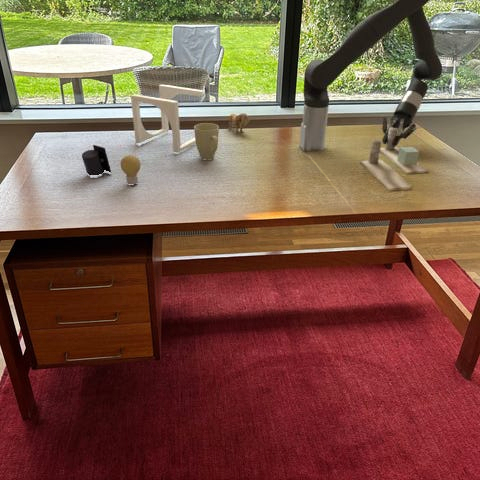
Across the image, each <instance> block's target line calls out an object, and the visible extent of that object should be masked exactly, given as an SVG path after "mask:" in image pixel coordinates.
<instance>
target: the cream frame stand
mask: <svg viewBox="0 0 480 480" xmlns="http://www.w3.org/2000/svg"><path fill="white" fill-rule="evenodd" d="M158 92H159V97H153V96H148V95H141V94H131V95H130V100H131V111H132V120H133V122H132V123H133V129H134V130H133V131H134V139H135V141H134V142H135V144H136V143H141V142H143V141H145V140H147V139H150V138H152V137H154V136H157V135H159V134H162V133H165V132H168V131H169V132H170V130H169V129H170V128H171V132H172V133H171V135H172V136H171V137H172V150H173V152H177V153H178V152H180V151H182V150H184V149H186V148H188V147H190V146H192V145H194V144H196V140H195V137H193V138H192V139H190V140H188V141H185V142H184V143H182V144H181V132H180V115H179V113H180V112H179V101H178V100H173V98H174V97H175V96H177V95H186V96H193V97H198V98H199V97H200V98H202V97H204V95H205V94H204V92H205V90H201V89H197V88H196V89H195V88H190V87H189V88H188V87H183V86H175V85H168V84H159V85H158ZM140 103H143V104H149V105H152V106H154V107H156V108H158V109H159V110H160V118H161V119H160V120H161V128H160V129H159V130H156V131H154V132H152V133H149V132H148V131H147V130H146V129H145V127H144V125H143V123H142V118H141V108H140ZM169 125H170V127H169ZM194 146H195V145H194Z"/></svg>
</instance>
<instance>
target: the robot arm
mask: <svg viewBox="0 0 480 480" xmlns="http://www.w3.org/2000/svg"><path fill="white" fill-rule="evenodd" d="M429 2H430V0H396V1H395V2H393V3H391V4H389V6H386V7H384V8H381V9H379V10H377V11H375V12H373V13H371V14H370V15H367V16H366V17H365V18H364V19H363V20H361V21H360V22H359V23H358V24H357V25H356V26H354V27H353V29H351V30H350V32H349V33H348V35H347V36H346V37H345V39H344V40H343V42H342V43H341V45H340V46H339V47H338V48H337V49H336V51H335V52H333V53H332V54H331V55H330V56H328V57H327V58H325V59H321V58H315V59H312V60H310V61H309V62H308V64H307V65H306V66H305V70H304V77H303V98H304V100H303V101H304V103H303V112H302V113H303V114H302V122H300V131H299V133H300V134H299V144H298V145H299V148H301V149H302V151H303V152H316V151H317V152H318V151H323V150H325V143H326V135H327V125H328V117H329V116H328V114H329V103H330V97H329V92H328V88H329V86H331V85H332V83H334V82H335V81H336V79H337V78H339V77H340V75H342V73H343V72H344V71H345V70H346V69H347V68H348V67H349V66H350V65H351V64H353V63H354V62H355V61H357V60H358V59H360V57H362V56H363V55H364V53H366V52H367V51H369V50H370V49H371V48H372V47H374V46H375V45H376V44H378V42H380V41H381V39H383V38H384V37H385V36H386V35H388V34H389V33H390V32H391V31H392V30H393V29H395V28H396V27H398V25H399V24H400V23H401V22H403V21H404V20H406V19H407V21H408V25H409V26H408V27H409V29H410V32H411V39H412V45H413V51H414V55H415V58H416V59H418V60H420V61H417V62H416V63H415V65H414V66H413V69H412V75H411V78H410V82H409V86H408V87H407V89H406V91H405V93H404V94H403V95H402V97H401V99H400V101H399V103H398V104H397V106H396V108H395V111H393V114H392V115H391V116H390V117H386V116H384V117H383V118H382V127H381V129H382V132H383V134H384V135H383V137H382V140H381V142H382V144H383V145H386V144H387V138H388V132H389V128H397V129H398V132H397V136H396V137H395V139H394V141H393V142H392V146H393V147H398V146H397V145H398V144H399V143H400V140H402V139H405V140H406V139H407V138H409V136H411V135H412V134H413V133H414V132H415V131H416V130H417V129H418V128H417V126H416V125H417V124H416V123H413V120H414V118H415V116H416V114H417V113H418V111H419V109H420V107H421V106H422V105H421V104H422V102H423V99H424V98H425V96H426V94H427V92H428V89H429V85H428V84H427V83H426V82H425V81H436V80H438V79H440V77H441V76H442V73H443V65H442V62H441V59H440V57H439V56H438V53H437V51H436V49H435V42H434V35H433V32H432V29H431V26H430V24H429V21H428V19H427V17H426V14H425V12H424V6H425V5H426V4H427V3H429ZM424 80H425V81H424ZM388 125H389V126H388Z"/></svg>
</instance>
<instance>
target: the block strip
mask: <svg viewBox="0 0 480 480" xmlns="http://www.w3.org/2000/svg"><path fill="white" fill-rule="evenodd" d="M388 128H389V127H388ZM397 134H398V129H397V128H389V132H388V138H387V143H386V144H385V147H381V148H380V153H381V154H382V155H383V156H384V157H386V158H387V159H388V160H389V161H390V162H391V163H393V164H394V165H395V166H396V167H397V168H399V170H401V171H402V172H403V173H405V174H406V175H409V174H410V175H411V174H424V173H428V172H429V170H428V169H427V168H425V167H424V166H423V165H421V163H419V162H418V161H417V165H405V166H403V165H402V164H401V163H400V162H399V161H397V159H398V154H399V149H400V147H398V146H395V147H393V146H392V142H393V141H394V139H395V137H396V136H397Z"/></svg>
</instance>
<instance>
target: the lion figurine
mask: <svg viewBox="0 0 480 480" xmlns="http://www.w3.org/2000/svg"><path fill="white" fill-rule="evenodd" d="M228 120H229V123H227V124H226V127H228V126H229V127H228V130H229V131H232V128H235V130H236V132H235V134H236V135H239V134H240V133H241V134H243V133H244V131H243V128H244V127H245V126H247V124H248V123H250V122H251V118H250V116H248V114H247V113H240V114H238V115H236V114H235V113H231V114H230V115H229V119H228ZM239 128H240V130H239ZM239 132H240V133H239Z"/></svg>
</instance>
